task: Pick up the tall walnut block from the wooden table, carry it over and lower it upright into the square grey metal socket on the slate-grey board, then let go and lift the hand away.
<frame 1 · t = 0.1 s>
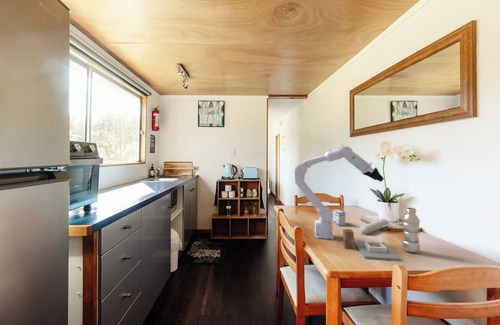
hand: (379, 179, 116), 32 cm above the table, tool tilted 50°, fingers open, 7 cm apart
walnut block: (348, 246, 108), on the table
plastic bottle: (410, 251, 102), on the table
tube: (374, 230, 131), on the table
medicine box: (339, 224, 145), on the table
dock board: (374, 250, 103), on the table
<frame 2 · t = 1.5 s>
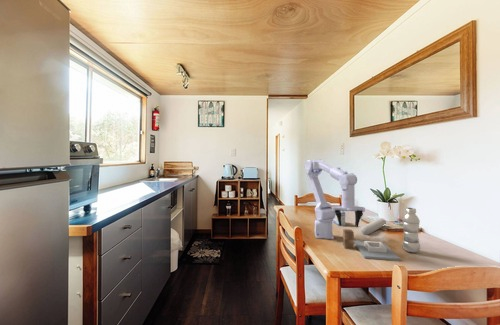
hand: (348, 225, 108), 10 cm above the table, tool pointing down, fingers open, 7 cm apart
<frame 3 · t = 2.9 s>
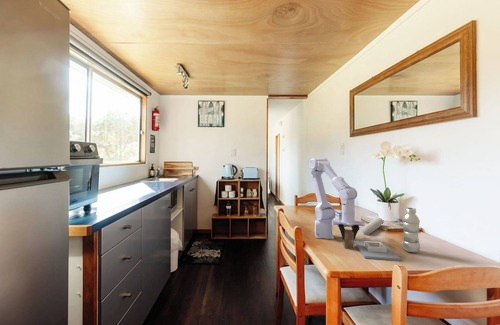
hand: (348, 239, 108), 3 cm above the table, tool pointing down, fingers closed on walnut block, 4 cm apart
walnut block: (348, 246, 108), on the table, touching gripper
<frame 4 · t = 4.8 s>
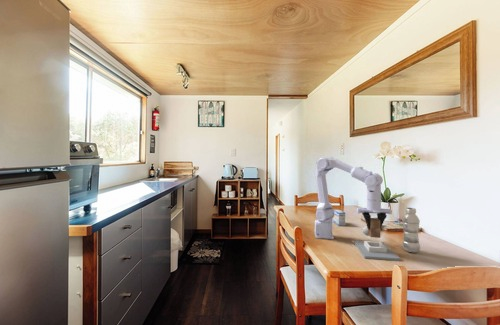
hand: (374, 228, 103), 10 cm above the table, tool pointing down, fingers closed on walnut block, 4 cm apart
walnut block: (374, 236, 103), point 7 cm above the table, touching gripper
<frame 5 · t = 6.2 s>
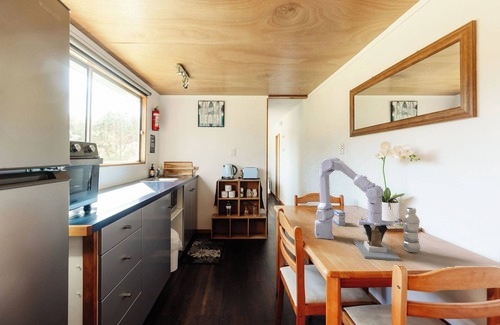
hand: (374, 240, 103), 5 cm above the table, tool pointing down, fingers closed on walnut block, 4 cm apart
walnut block: (375, 248, 103), point 1 cm above the table, touching gripper
when the fingers open (4 cm above the table, at t = 7.1 s): walnut block stays where it is, resting on dock board.
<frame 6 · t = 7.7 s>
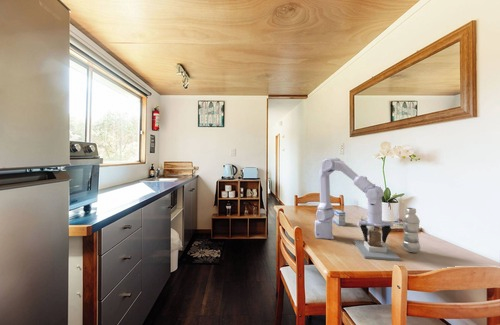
hand: (374, 241, 103), 4 cm above the table, tool pointing down, fingers open, 7 cm apart
walnut block: (375, 248, 103), point 1 cm above the table, touching dock board
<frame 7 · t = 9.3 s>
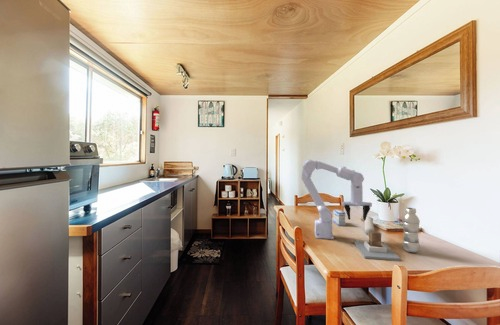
hand: (356, 219, 118), 10 cm above the table, tool pointing down, fingers open, 7 cm apart
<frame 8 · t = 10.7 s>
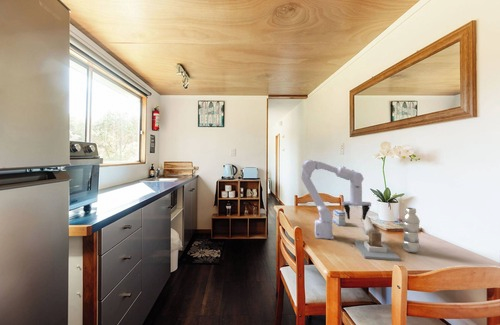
hand: (356, 219, 119), 10 cm above the table, tool pointing down, fingers open, 7 cm apart
at the end: walnut block 0.1 cm off-centre on the dock board, point 1.0 cm above the dock board's base; walnut block tilted 0°; the gripper is holding nothing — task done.
